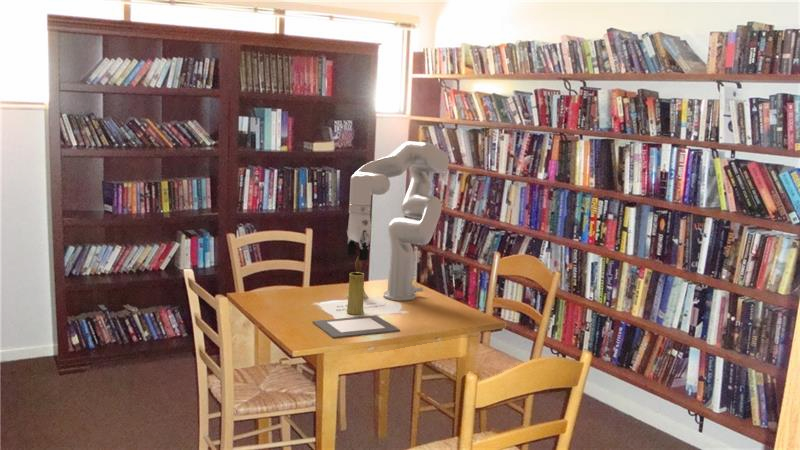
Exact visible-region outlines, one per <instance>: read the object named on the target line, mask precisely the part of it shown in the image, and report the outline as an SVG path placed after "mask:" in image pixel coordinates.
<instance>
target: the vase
mask: <svg viewBox="0 0 800 450" xmlns="http://www.w3.org/2000/svg"><path fill="white" fill-rule="evenodd" d="M348 280H349V281H348V292H347V294H348V298H347V306H346V307H347V309H346V313H347V314H348V313H349V315H352V314H353V315H354V316H356V315H357V316H359V315H362V314H364V299H363V290H364V291H365V287H364V286H365V273H363V272H356V271H354V272H353V271H352V272H350V273H349V279H348Z"/></svg>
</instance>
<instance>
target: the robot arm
mask: <svg viewBox="0 0 800 450" xmlns="http://www.w3.org/2000/svg"><path fill="white" fill-rule="evenodd" d="M449 160H450V159H449V156H448V154H447V152H445V151H444V150H443V149H441V148H439V147H438V146H436V145H434V144H433V143H431V142H425V141H413V140H407V141H404V142H402V143H400V145H398V147H396V148H395V149H394V150H392V151H391V153H389V154H388V155H387V156H384V157H381V158H378V159H374V160H373V161H372V160H371V161H369V162H367V163H365V164H364V165H362V166H360V167H359V168H358V169H357V170H356V171H355V172H354V173H353V174H351V176H350V181H349V183H350V185H349V204H348V213H349V216H348V225H347V229H346V234H347V236H346V238H347V242H346V243H347V251H346V254H347V256H355V255H357V243H358V245H359V249H358V256H359V260H361V261H368V255H369V248H370V243H371V239H372V238H371V237H372V223H371V221H372V220H371V205H372V195H377V196H380V195H385V194H387V192H388V191H389V190H390V187H391V180H390V178H395V177H398V176H401V175H402V174H403V173H404V172H405V171H406V170H409V174H410V182H409V186H408V188H407V190H406V193H405V196H404V198H403V201H402V202H401V203H402V204H401V207H400V209H401V213H402V214H403V215H404V216H398V217H397V216H396V217H394V218H392V219H391V220H390V222H389V223H388V229H387V231H388V238H389V258H388V259H389V261H388V280H387V282H388V283H387V291H384V293H383V297H384V298H385V299H387V300H392V301H397V302H399V301H400V302H402V301H403V302H404V301H405V302H406V301H407V302H408V301H412V300H415V299H416V295H417V294H416V293H418V292H419V293H422V292H424V288H423V286H418V285H417V286H416V285H413V282H414V281H413V280H414V278H413V277H414V264H415V262H414V260H415V259H414V258H415V252H414V248H413V246H412V244H413V245H419V246H425V245H427V244H429V243H430V242H431V239H432V238H433V235H434V232H435V231H436V228H437V224H438V222H439V220H440V217H441V214H442V202H441V200H440V199H439V198H438V197H436V196H435V195H431V194H430V192H431V189H432V183H431V180H430V178H429V177H428V174H427V173H434V174H443V173H445V172H446V171H447V170H448V168H449V165H450V161H449ZM405 216H406V217H405Z"/></svg>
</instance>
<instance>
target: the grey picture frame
mask: <svg viewBox="0 0 800 450" xmlns="http://www.w3.org/2000/svg"><path fill="white" fill-rule="evenodd" d="M312 324H314V325H315V326H316V327H318V328H320V330H322V331H323V332H324V333H325V334H327V335H329V337H331V338H332V339H338V338H340V339H341V338H347V337H348V338H349V337H358V336H368V335H377V334H385V333H386V334H387V333H395V332H396V333H397V332H400V331H401V329H399V328H398V327H396V326H395V325H393V324H391V323H390V322H388V321H386V320H385V319H383V318H382V317H380V316H379V315H376V314H375V315H363V316H356V317H355V316H353V317H343V318H342V317H341V318H334V319H333V318H332V319H331V318H329V319H322V320H312Z"/></svg>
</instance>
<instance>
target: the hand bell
mask: <svg viewBox="0 0 800 450" xmlns="http://www.w3.org/2000/svg"><path fill="white" fill-rule="evenodd" d="M362 261H363V260H359V255H358V256H357V257H356V260H355V264H354V267H355V269H354V270H355V272H360V273H362V267H363V262H362ZM346 298H347V299H348V293H347V294H346ZM368 298H369V297H368V294H367V293H366V292H365V289H364V290H363V300H366V299H368Z"/></svg>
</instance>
